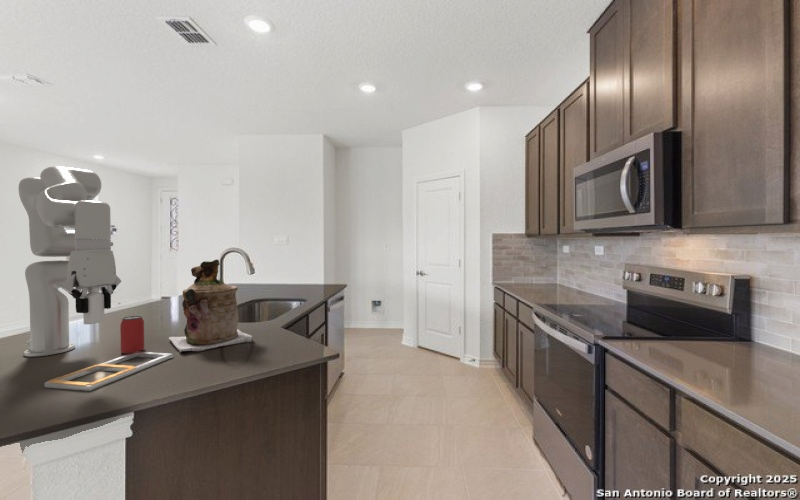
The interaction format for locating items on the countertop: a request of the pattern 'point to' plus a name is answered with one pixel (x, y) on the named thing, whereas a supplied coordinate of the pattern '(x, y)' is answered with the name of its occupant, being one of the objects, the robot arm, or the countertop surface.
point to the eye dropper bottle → (94, 306)
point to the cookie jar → (209, 312)
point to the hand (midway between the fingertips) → (94, 309)
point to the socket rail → (106, 366)
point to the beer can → (132, 334)
